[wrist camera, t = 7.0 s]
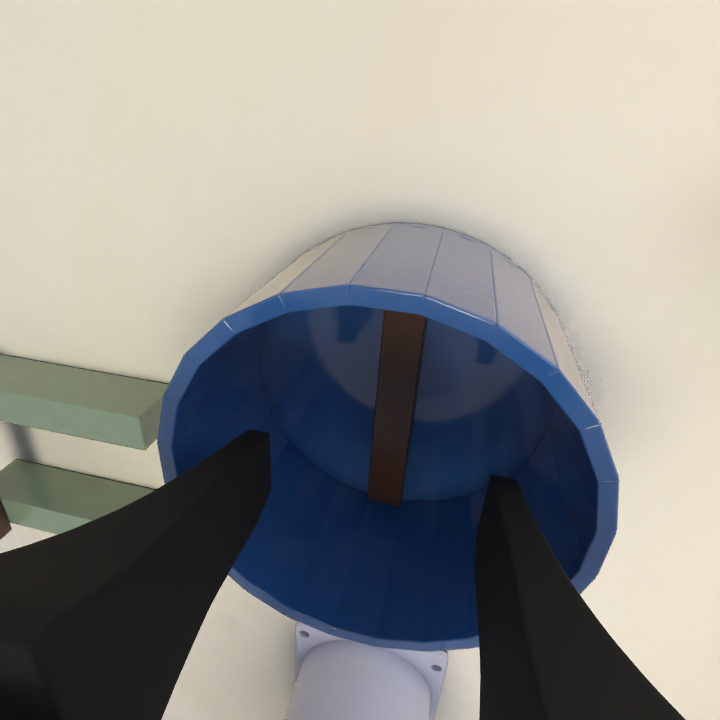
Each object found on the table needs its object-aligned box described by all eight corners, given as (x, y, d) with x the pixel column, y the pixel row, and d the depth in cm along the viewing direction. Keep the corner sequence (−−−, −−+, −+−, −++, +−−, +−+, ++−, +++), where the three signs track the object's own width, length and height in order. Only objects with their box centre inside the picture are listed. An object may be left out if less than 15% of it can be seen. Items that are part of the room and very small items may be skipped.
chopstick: (404, 483, 19) (400, 506, 18) (373, 477, 19) (366, 499, 18) (434, 271, 15) (430, 284, 14) (393, 266, 15) (386, 278, 14)
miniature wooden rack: (194, 521, 24) (166, 561, 22) (24, 482, 25) (-18, 516, 23) (175, 385, 20) (139, 417, 18) (-24, 349, 22) (-80, 375, 20)
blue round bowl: (526, 523, 19) (546, 691, 14) (261, 470, 21) (183, 598, 16) (614, 244, 14) (707, 331, 8) (249, 204, 16) (122, 254, 10)
